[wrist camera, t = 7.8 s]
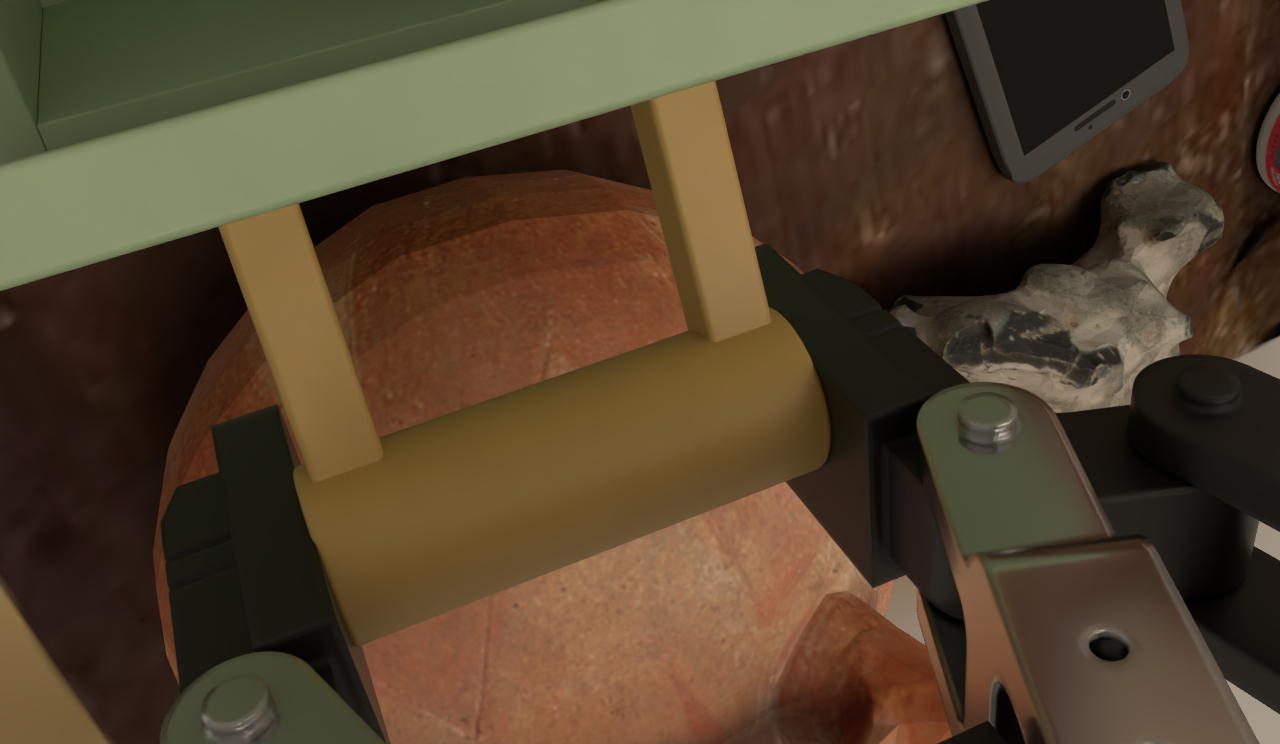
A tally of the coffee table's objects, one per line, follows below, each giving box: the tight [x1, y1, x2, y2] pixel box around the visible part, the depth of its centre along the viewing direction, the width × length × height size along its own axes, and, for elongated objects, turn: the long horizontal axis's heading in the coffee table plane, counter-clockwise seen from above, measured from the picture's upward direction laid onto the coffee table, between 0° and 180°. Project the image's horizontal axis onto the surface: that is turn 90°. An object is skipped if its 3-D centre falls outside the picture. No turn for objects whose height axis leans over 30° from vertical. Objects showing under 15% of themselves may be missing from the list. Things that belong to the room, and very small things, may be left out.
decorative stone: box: [889, 162, 1224, 413], centre depth 40 cm, size 16×9×10 cm, turn 107°
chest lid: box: [0, 0, 988, 645], centre depth 16 cm, size 14×12×5 cm
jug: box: [153, 170, 952, 744], centre depth 29 cm, size 18×18×20 cm
